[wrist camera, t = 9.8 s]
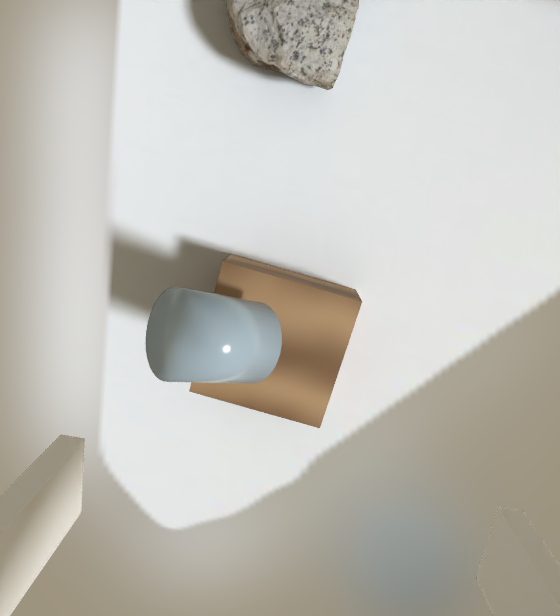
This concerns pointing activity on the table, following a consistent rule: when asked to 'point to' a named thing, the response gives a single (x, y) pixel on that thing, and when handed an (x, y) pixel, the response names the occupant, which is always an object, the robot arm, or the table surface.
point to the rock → (294, 36)
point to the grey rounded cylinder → (211, 338)
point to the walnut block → (291, 339)
